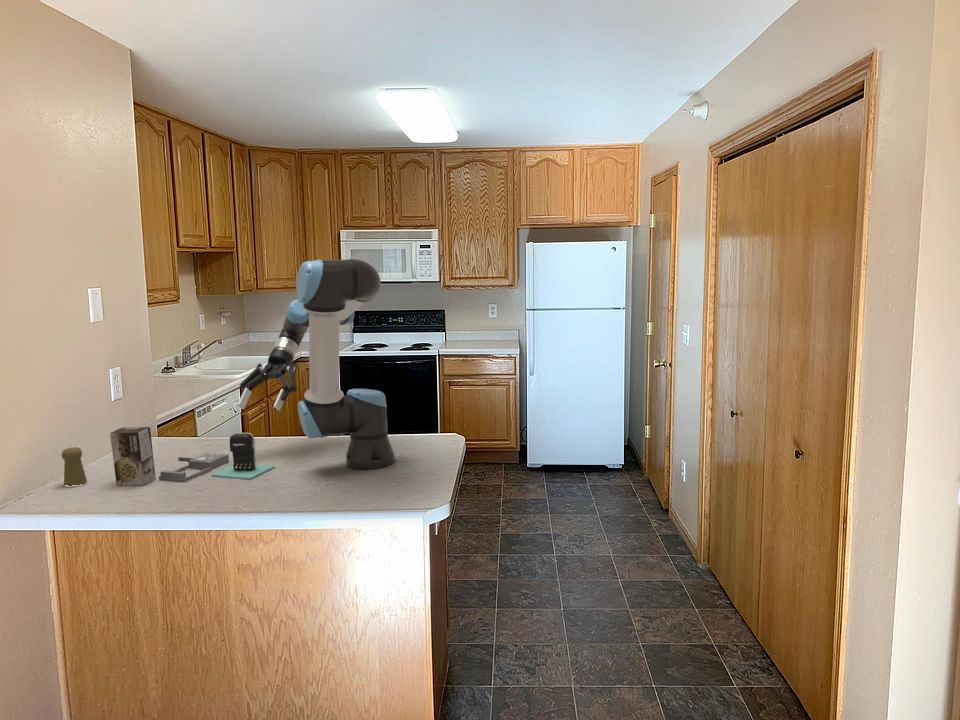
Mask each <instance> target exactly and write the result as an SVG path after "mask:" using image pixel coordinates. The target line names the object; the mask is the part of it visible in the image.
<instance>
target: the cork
mask: <svg viewBox="0 0 960 720" xmlns="http://www.w3.org/2000/svg"><path fill="white" fill-rule="evenodd" d="M82 457H83V451H82V449H81V448H80V447H73V446H72V447H68V448H65V449H63V450H62V452H61V458H62V459H63V461H64V467H63V468H64V469H63V470H64V471H63V480H64V481H63V486H64V485H68V486H72V485H80V484H84V483H86V482H87V483H88V479H87V476H86V473H85V469H84V465H83V462H82ZM87 483H86V484H87ZM84 485H85V484H84Z"/></svg>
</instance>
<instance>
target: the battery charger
mask: <svg viewBox="0 0 960 720" xmlns="http://www.w3.org/2000/svg"><path fill="white" fill-rule="evenodd" d="M255 443H256V442H255V436H254V435H253V434H252V433H251V432H235V433H234V434H232V435H230V437H229V451H230V452H231V453H232V459H233V464H232V465H233V469H234V470H235V471H250V470H253V469H255V468H256V465H257V462H256V460H257V459H256V444H255Z"/></svg>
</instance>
